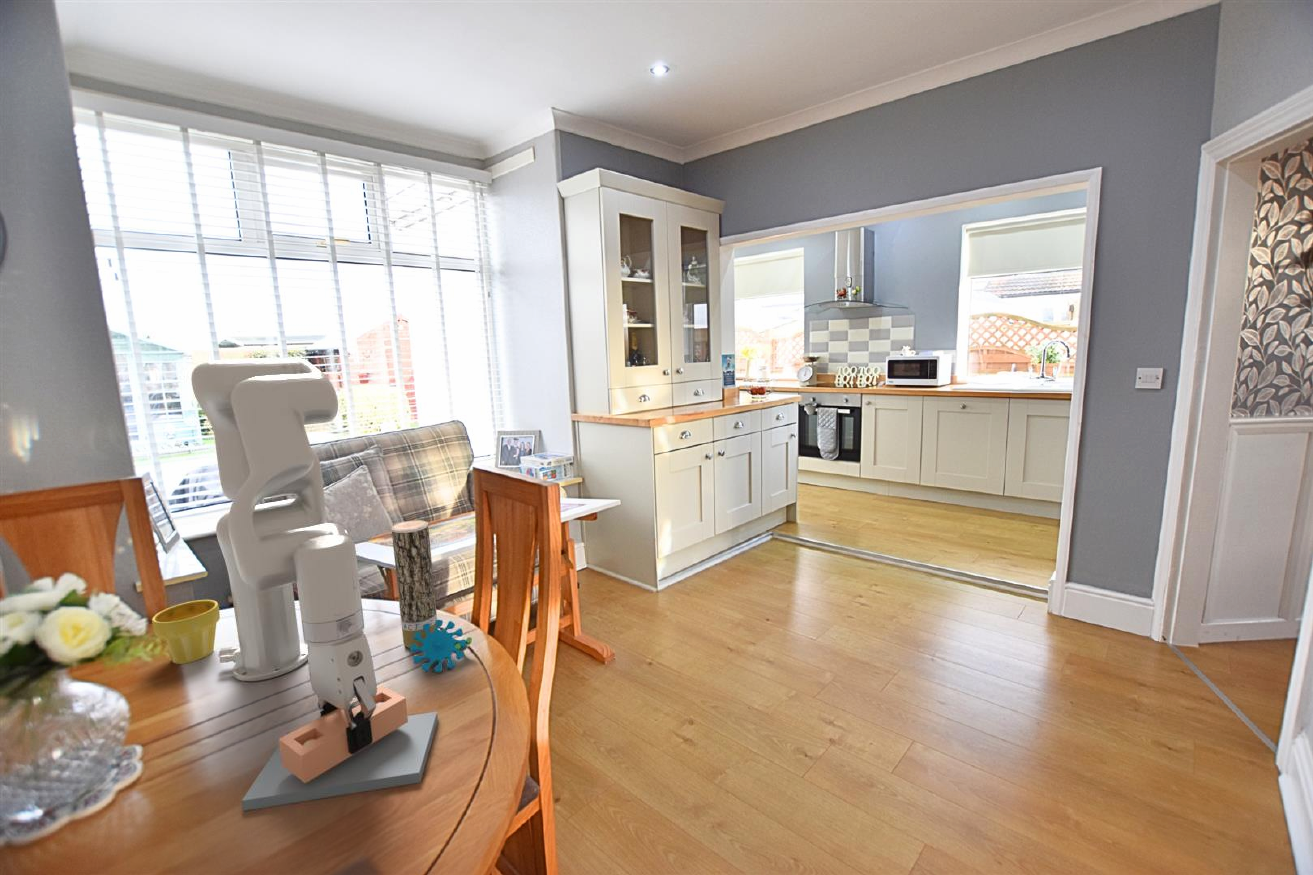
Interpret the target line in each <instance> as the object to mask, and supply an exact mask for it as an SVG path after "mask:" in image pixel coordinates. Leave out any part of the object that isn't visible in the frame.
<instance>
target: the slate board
mask: <svg viewBox="0 0 1313 875" xmlns="http://www.w3.org/2000/svg"><path fill="white" fill-rule="evenodd" d="M382 703H383V702H380V703H377V704H376V706H378V705H380V704H382ZM407 716H408V722H407V723H405V724H404V725H402V726H400V727H399V728H397V729H395V730H394V731H392V732H390V733H389V734H387V735H385V736H384V737H382V738H380V739H379V740H377V741H375V742H374V743H372V744H370V745H369V746H367V747H365V748H364V749H362V750H360V751H359V752H357V753H355V754H354V755H352V756H350V757H348V758H347V759H345V760H343V761H342V762H340V763H338V764H337V765H335V766H333V767H332V768H330V769H328V770H327V771H325V772H323V773H322V774H320V775H318V776H317V777H315V778H313V779H312V780H310V781H308V782H307V783H304V782H303V781H301V780H300V779H299V778H298V777H296V776H295V775H294V774H292V773H291V772H290V771H289V770H287V769H286V768H285V767H284V766H282V760H281V753H280V745H279V744H278V746H277V747H276V749H275V751H274V752H273V754H272V755H271V756H270V758H269V759H268V761H267V762H266V764H265V765H264V767H263V769H262V770H261V771H260V773H259V774H258V776H257V777H256V779H255V780H254V781H253V783H252V785H251V786H250V787H249V789H248V790H247V792H246V793H245V795H244V797H243V798H242V799H241V807H242V811H243V812H245V811H251V810H257V809H264V808H269V807H270V808H271V807H276V806H282V805H289V804H294V803H301V802H308V801H314V800H319V799H325V798H326V799H327V798H332V797H338V796H343V795H344V796H345V795H349V794H350V795H351V794H355V793H356V794H357V793H362V792H368V791H374V790H382V789H386V788H393V787H400V786H405V785H412V784H417V783H421V781H422V777H423V774H424V770H425V767H426V765H427V764H426V763H427V760H428V756H429V752H430V749H431V747H432V746H431V745H432V742H433V740H434V735H435V733H436V728H437V724H438V721H439V719H438V718H439V717H438V711H433V712H432V711H431V712H426V713H419V714H413V715H407ZM289 733H291V731H290V732H287V733H286V734H285V736H286V735H287V734H289ZM314 740H315V739H311V740H308V741H306V742H305V743H304V744H303V746H305V745H307V744H309V743H310V742H312V741H314Z"/></svg>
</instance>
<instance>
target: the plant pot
mask: <svg viewBox="0 0 1313 875" xmlns="http://www.w3.org/2000/svg"><path fill="white" fill-rule="evenodd" d="M220 616H221V614H220V606H219V603H218V602H217V601H216V600H213V599H199V600H192V601H187V602H182V603H179V604H176V605H172V606H170V607H168V608H165V609H164V610H161V611H159V612H158V613H156V614H155V615H153V617H152V618H151V623H152V629H153V632H154V635H155V636H156V637H157V636H162V637H163V638H166V640H167V643H168V646H169V653H168V652H167V653H168V655H169V658H170V660H171V661H172V663H174V664H175V665H179V664H180V665H183V664H190V663H194V662H196V661H200V660H202V659H204V658H206V657H208V656H209V655H211V654H212V653H213V651H214V649H215V640H216V630H217V623H218V622H219V621H220V618H221V617H220Z"/></svg>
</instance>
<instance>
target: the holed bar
mask: <svg viewBox="0 0 1313 875" xmlns="http://www.w3.org/2000/svg"><path fill="white" fill-rule="evenodd" d="M372 698H373V700H374V702H375V704H377V703H380V702H383V703H382V704H380V705H378V706H376V709H375V710H374V712H373V714H372V718H371V719H370V721H371V730H372V739H373V741H372V743H374V742H375V741H377V740H379V739H380V738H382V737H384V736H385V735H387V734H389V733H390V732H392V731H394V730H395V729H397V728H399V727H400V726H402V725H404V724H405V723H407V722H408V716H409V715H408V708H407V698H406V697H405V696H403V695H401V694H398V693H397V692H395V691H393V690H391V689H389V688H388V687H386V686H384V685H380V686H379V687H377V694H376V696H374V697H372ZM357 700H358V699H357V698H355V699H352V701H351V702H350V704H351V703H353V702H355V701H357ZM360 711H361V706H360V705H358V706H357V707H355V708H353V709H352V712H353V715H354V717H355V716H356V714H357V713H358V712H360ZM347 727H349V725H348V722H347V719H346V716H345V713H344V710H342V709H339V708H338V709H336V710H334V711H333V712H331V713H329V714H327V715H325V716H322V717H321V716H320V717H319V718H316V719H314V720H313V721H310V722H308V723H307V724H305V725H304V726H301V727H299V728H297V729H295V730H294V731H292V732H291V731H290V732H291V733H290V732H288V733H289V734H287V733H286V734H287V735H286V734H285V735H284V736H281V737H280V738H278V746H279V745H280V753H281V760H282V766H284V767H285V768H286V769H287V770H289V771H290V772H291V773H292V774H294V775H295V776H296V777H298V778H299V779H300V780H301V781H303V782H304V783H307V782H308V781H310V780H312V779H313V778H315V777H317V776H318V775H320V774H322V773H323V772H325V771H327V770H328V769H330V768H332V767H333V766H335V765H337V764H338V763H340V762H342V761H343V760H345V759H347V758H348V757H350V756H352V755H354V754H350V753H349V750H348V741H347V733H346V728H347ZM311 739H315V740H314V741H312V742H310V743H309V744H307V745H305V746H303V744H304V743H305V742H306V741H308V740H311ZM372 743H371V744H372ZM368 746H369V745H368ZM366 747H367V746H366ZM363 749H364V748H363ZM361 750H362V749H361ZM358 752H359V751H358ZM356 753H357V752H356Z"/></svg>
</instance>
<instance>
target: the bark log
mask: <svg viewBox="0 0 1313 875" xmlns="http://www.w3.org/2000/svg"><path fill="white" fill-rule="evenodd" d="M428 523H429V522H428V521H426V520H419V519H418V520H408V521H402V522H398V523H396V524H394V525H392V526H391V535H392V545H393V546H392V547H393V556H394V564H395V565H394V566H395V573H396V574H395V576H396V585H397V594H398V603H399V605H398V606H399V613H400V623H401V624H400V626H401V631H402V632H401V633H402V641H403V645H404V646H405V647H406V648H409V649H410V648H411V645H412V644H416V645H417V647H419V648H421V647H422V646H423V645H422V643H421V642H420V641H418V640H415V639H414V638H413V636H414V635H415V633H417V632H420V633H421V638H422V639H425V638H426V632H425V631H424V630H423V625H424V624H427V623H430V629H429V632H430V633H432V632H433V631H434V630H435V628H436V625H435V623H436V620H438V614H437V605H436V604H437V603H436V602H437V601H436V594H435V582H434V581H435V580H434V574H433V573H434V572H433V571H434V570H433V560H432V549H431V540H430V529H429V524H428Z"/></svg>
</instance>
